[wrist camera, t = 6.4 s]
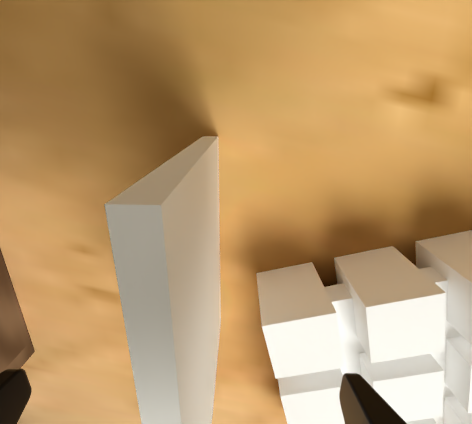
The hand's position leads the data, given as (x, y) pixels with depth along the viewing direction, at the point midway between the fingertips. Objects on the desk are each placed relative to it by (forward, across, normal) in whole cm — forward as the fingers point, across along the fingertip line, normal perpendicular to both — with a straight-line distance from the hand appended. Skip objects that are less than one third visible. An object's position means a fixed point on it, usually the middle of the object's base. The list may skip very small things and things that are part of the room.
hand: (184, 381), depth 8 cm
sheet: (+9, 0, 0) cm, 9 cm away
